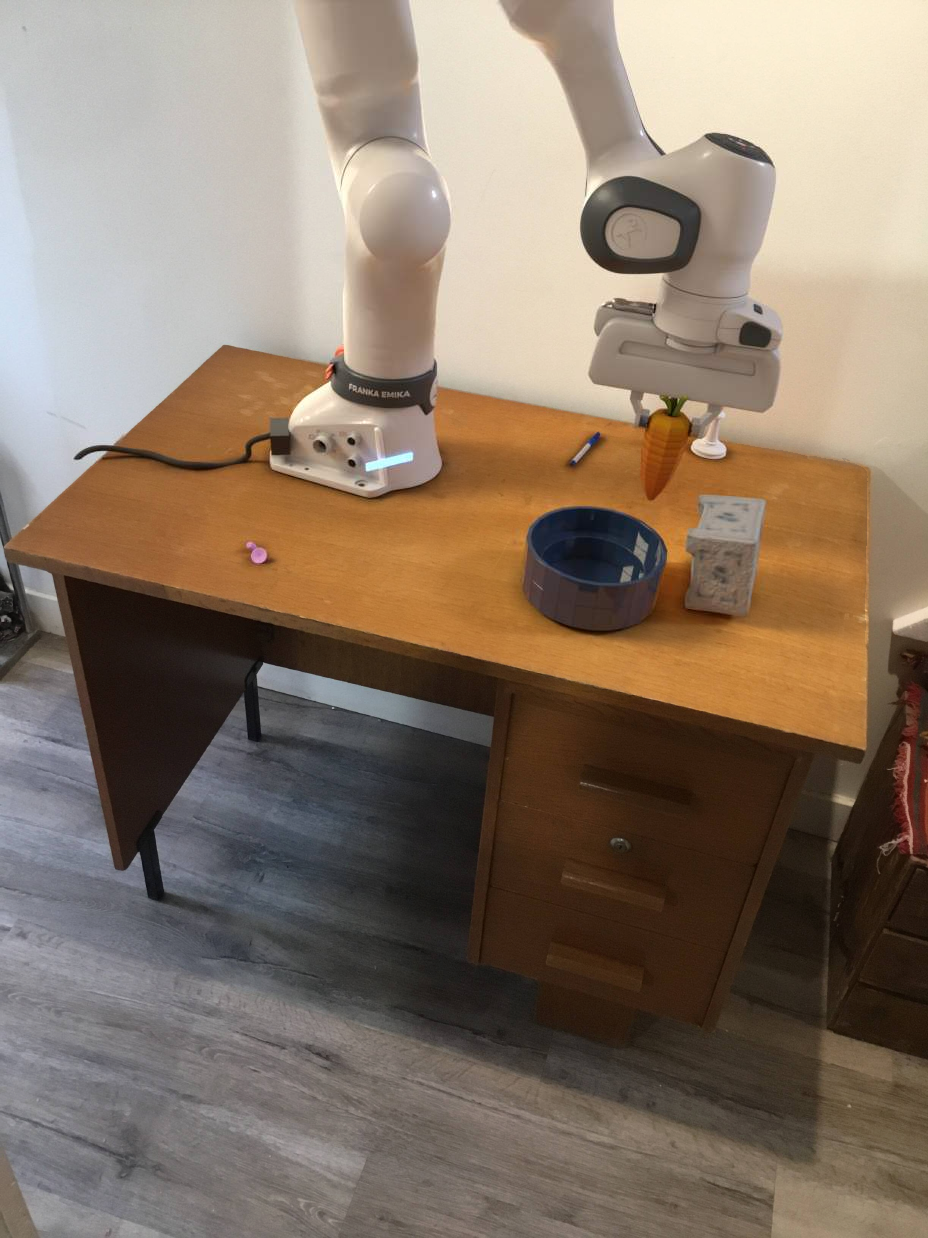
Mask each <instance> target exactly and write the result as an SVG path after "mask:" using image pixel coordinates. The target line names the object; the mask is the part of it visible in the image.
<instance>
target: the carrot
mask: <svg viewBox="0 0 928 1238" xmlns="http://www.w3.org/2000/svg"><path fill="white" fill-rule="evenodd" d="M658 397H659V400H661V401H662V402H664V404H665V405H666V408H664V407H663V408H657V409H656V410H654V411H653V412H652V413H651V414H649V419H648V422H647V428H646V429H644V430H645V431H644V434H643V439H642V440H643V441H642V446H641V453H640V479H641V484H642V485H641V486H642V489H643V491H644V495H645V497H646V499H647V500H648V501H649V502H651V501H654V500H655V499H656V498H657V497H658V496H659V495H660V494H661V493H662V492H663V491H664V490H665V489H666V487H667V486H668V485H669V483H670V482H671V481H672V479H673V477H674V475H675V473H676V471H677V469H678V467H679V465H680V462H681V461H682V458H683V455H684V452H685V449H686V446H687V443H688V439H689V438H690V437H689V433H690V430H691V422H692V420H690V418H689V417H688V416H687V414H685V412H683V411H681V410H682V409H683V407H684V405H685V403H686V402H687V401H689V400H688V397H687V396H685V395H684V396H683V397H682V398H681V399H678V398H672V397H666V396H660V395H658Z"/></svg>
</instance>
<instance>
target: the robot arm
mask: <svg viewBox="0 0 928 1238" xmlns="http://www.w3.org/2000/svg"><path fill="white" fill-rule="evenodd" d="M494 1H495V2H496V5H497V7H498V8H499V10H500V12H501V13H502V15H503V18H504V19H505V21H506V22H507V24H508V26H509V28H510V29H511V30H512V31H513V32H514V33H516V34H517V35H518V36H520V37H521V38H522V39H523V40H525V41H526V42H527V43H529V44H530V45H531V46H532V47H534V48H535V49H536V50H537V52H539V53H540V54H541V55H542V56H543V58H544V59H545V60H546V61H547V63H548V64H549V66H550V67H551V69H552V70H553V72H554V74H555V75H556V77H557V79H558V81H559V84H560V87H561V89H562V92H563V95H564V97H565V100H566V103H567V106H568V109H569V111H570V114H571V117H572V119H573V120H572V121H573V123H574V125H575V128H576V131H577V134H578V137H579V140H580V142H581V145H582V147H583V151H584V156H585V162H586V179H585V190H584V200H583V205H582V210H581V215H580V221H579V234H580V239H581V243H582V246H583V248H584V251H585V252H586V253H587V255H588V256H589V258H590V260H592V261H593V262H594V263H595V264H596V265H598V267H600V268H602V269H604V270H605V271H607V272H611V273H613V274H619V275H655V274H656V275H657V274H662V276H661V281H660V285H659V290H658V294H657V299H656V302H655V303H654V302H648V301H647V302H646V301H641V300H640V301H639V300H629V299H626V298H621V297H614V298H613V300H608V301H605V302H603V303H602V304H601V305H599V306H598V308H597V309H596V311H595V312H596V313H595V317H594V322H593V331H594V333H595V335H596V337H597V338H596V341H595V345H594V348H593V351H592V355H591V359H590V361H589V362H590V363H589V367H588V371H587V375H588V377H589V379H590V381H591V383H592V384H594V385H597V386H602V387H603V386H604V387H608V388H615V389H621V390H626V391H630V394H629V401H630V404H631V406H632V409H633V411H634V414H635V415H634V420H633V421H634V422H633V428H635V429H642V430H645V429H646V428H647V422H648V419H649V416H650V413H651V409H648V408H644V407H643V403H642V401H643V398H644V395H645V394H648V395H649V394H650V395H655V396H666V397H669V398H671V397H672V398H678V400H679V399H681V398H682V397H683V396H684V395H685V396H687V397H688V400H687V401H690V402H696V403H701V404H706V411H705V412H704V413H703V414H702V415H701V416H700V417H692V418H691V430H690V433H689V437H688V438H692V439H696V440H697V439H702V438H704V433H705V429H706V427H708V426H710V425H711V423H712V421H713V420H714V419H715V418H716V417H717V416H718V415H719V414H720V411H721V407H722V406H724V407H725V408H730V409H737V410H742V411H746V412H747V411H748V412H753V413H760V414H763V413H765V412H767V411H768V410H770V409H771V408H772V407H773V406H774V404H775V400H776V398H777V393H778V390H779V385H780V377H781V371H782V361H781V353H780V349H779V347H780V345H781V343H782V339H783V335H784V325H783V322H782V318H781V316H780V314H779V313H778V312H777V311H776V310H775V309H773V308H771V307H770V306H768V305H766V304H764V303H762V302H759V301H758V300H755V299H754V298H752V297H750V296H749V292H750V287H751V271H752V267H753V263H754V261H755V259H756V257H757V255H758V254H759V252H760V251H761V249H762V246H763V243H764V239H765V235H766V231H767V228H768V224H769V220H770V215H771V212H772V208H773V207H772V206H773V202H774V197H775V191H776V181H777V170H776V167H775V164H774V162H773V160H772V159H771V157H770V156H769V155H768V153H767V152H766V151H765V150H764V149H762V148H761V147H760V146H758V145H756V144H754V143H753V142H751V141H749V140H746V139H743V138H741V137H739V136H735V135H733V134H732V135H731V134H729V133H721V132H708V133H705V134H703V135H702V136H701V137H700V138H698V139H697V140H695V141H694V142H691V143H689V144H688V145H685V146H683V147H681V148H679V149H677V150H674V151H672V152H669V153H666V152H665V151H664V150H663V149H662V148H661V147H660V145H659V144H658V143H657V142H656V141H655V140H654V139H653V138H652V136H651V135H650V134H649V133H648V131H647V129H646V127H645V125H644V123H643V121H642V118H641V115H640V112H639V109H638V106H637V103H636V100H635V96H634V93H633V89H632V87H631V83H630V81H629V77H628V74H627V70H626V67H625V63H624V61H623V57H622V54H621V51H620V48H619V42H618V37H617V31H616V24H615V23H616V21H615V3H614V1H615V0H494ZM292 5H293V7H294V8H293V9H294V13H295V18H296V21H297V25H298V29H299V34H300V37H301V40H302V46H303V50H304V54H305V56H306V62H307V65H308V69H309V75H310V78H311V82H312V86H313V90H314V95H315V99H316V103H317V108H318V112H319V117H320V121H321V125H322V130H323V133H324V138H325V143H326V147H327V152H328V156H329V160H330V163H331V168H332V172H333V177H334V181H335V186H336V189H337V192H338V196H339V199H340V202H341V206H342V208H343V209H342V210H343V214H344V220H345V221H344V222H345V255H344V256H345V259H344V261H345V262H344V279H343V280H344V281H343V291H342V325H343V329H342V330H343V343H341V344H340V345H339V346H338V348H337V349H336V350H335V352H334V356H333V358H331V360H330V361H329V364H328V365H329V366H328V367H327V368H326V370H325V374H326V375H325V380H326V381H329V382H327V383H325V384H323V385H322V386H320V387H318V388H317V389H315V390H313V391H312V392H311V393H309V394H307V395H306V396H305V397H304V398H303V399H301V401H299V403H298V404H297V405H296V406H295V408H294V410H293V411H292V413H291V415H290V418H289V417H269V431H268V432H267V433H264V434H259V435H256V436H253V437H252V438H250V439H249V440H248V441H246V443H245V446H244V449H245V454H243V455H241V456H240V457H239V458H236V459H235V460H231V461H226V462H205V461H204V462H203V461H190V460H189V461H188V460H179V459H175V458H172V457H169V456H166V455H165V454H164V455H163V454H161V453H158V452H155V451H151V450H147V449H140V448H131V447H125V446H119V445H111V444H96V445H91V446H88V447H85V448H83V449H82V450H80V451H79V452H78V453H76V455H75V456H74V457H73V460H74V461H80V460H82V459H84V457H86V456H88V455H90V454H92V453H99V452H113V453H118V454H126V455H133V456H142V457H147V458H150V459H151V458H152V459H155V460H157V461H160V462H163V463H166V464H169V465H171V466H175V467H179V468H189V469H191V468H192V469H205V470H207V469H209V470H211V469H219V468H224V467H229V466H233V465H239V464H243V463H245V462H247V461H248V460H250V459H251V458H252V455H253V451H252V447H253V446H254V445H256V444H257V443H260V442H263V441H268V440H269V442H270V443H269V444H270V450H269V466H270V468H271V469H272V470H273V471H275V472H278V473H281V474H284V475H289V476H292V477H295V478H298V479H302V480H305V481H309V482H312V483H315V484H319V485H322V486H325V487H330V488H333V489H336V490H339V491H343V492H346V493H350V494H353V495H357V496H359V497H363V498H369V499H371V498H376V497H379V496H382V495H385V494H387V493H389V492H393V491H396V490H405V489H409V488H414V487H417V486H420V485H423V484H425V483H427V482H429V481H431V480H432V479H434V478H435V477H436V476H437V475H438V474H439V473H440V471H441V469H442V466H443V460H442V456H441V454H440V450H439V445H438V440H437V433H436V425H435V424H436V423H435V407H436V403H437V398H438V385H439V384H438V383H439V376H438V363H437V360H436V358H435V350H436V349H435V347H436V325H437V306H438V297H439V289H440V283H441V279H442V275H443V269H444V263H445V257H446V250H447V243H448V238H449V234H450V231H451V224H452V203H451V202H452V201H451V195H450V191H449V187H448V184H447V182H446V180H445V178H444V177H443V175H442V173H441V172H440V171H439V169H438V168H437V166H436V164H435V163H434V161H433V158H432V155H431V153H430V149H429V145H428V139H427V133H426V125H425V124H426V123H425V116H424V107H423V97H422V96H423V95H422V86H421V73H420V71H421V65H420V58H419V52H418V45H417V41H416V40H417V39H416V34H415V28H414V22H413V17H412V11H411V5H410V0H292Z"/></svg>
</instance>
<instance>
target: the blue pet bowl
mask: <svg viewBox="0 0 928 1238" xmlns="http://www.w3.org/2000/svg"><path fill="white" fill-rule="evenodd" d="M667 561H668V548H667V546H666V543H665V540H664V539H663V538H662V537H661V535H660V534H659V533H658V532H657V530H656V529H654V528H653V527H651V526H650V525H649V524H647V523H646V522H645V521H643V520H641V519H639V518H637V517H635V516H633V515H631V514H628V513H625V512H622V511H620V510H616V509H613V508H608V507H601V506H593V505H573V506H565V507H560V508H556V509H553V510H550V511H547V512H544V513H543V514H542V515H539V516H538V517H537V518H535V519H534V521H532V522H531V524H530V526H528V529H527V533H526V536H525V544H524V552H523V559H522V567H521V576H520V585H521V590H522V593H523V594H524V597H525V598H526V601H528V603H530V604H531V606H533V607H534V608H535V609H536V610H537V611H538V612H540V613H541V614H542V615H544V616H546V617H548V618H549V619H551V620H553V621H555V622H558V623H561V624H563V625H566V626H567V627H572V628H577V629H582V630H588V631H608V632H609V631H614V630H615V631H616V630H620V629H626V628H629V627H632V626H633V625H637V624H639V623H641V622H642V621H643V620H645V619H646V618H647V617H649V616H650V615H651V614H652V612H653V610H654V609H655V607H656V605H657V602H658V597H659V593H660V589H661V586H662V581H663V577H664V574H665V569H666V565H667Z"/></svg>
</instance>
